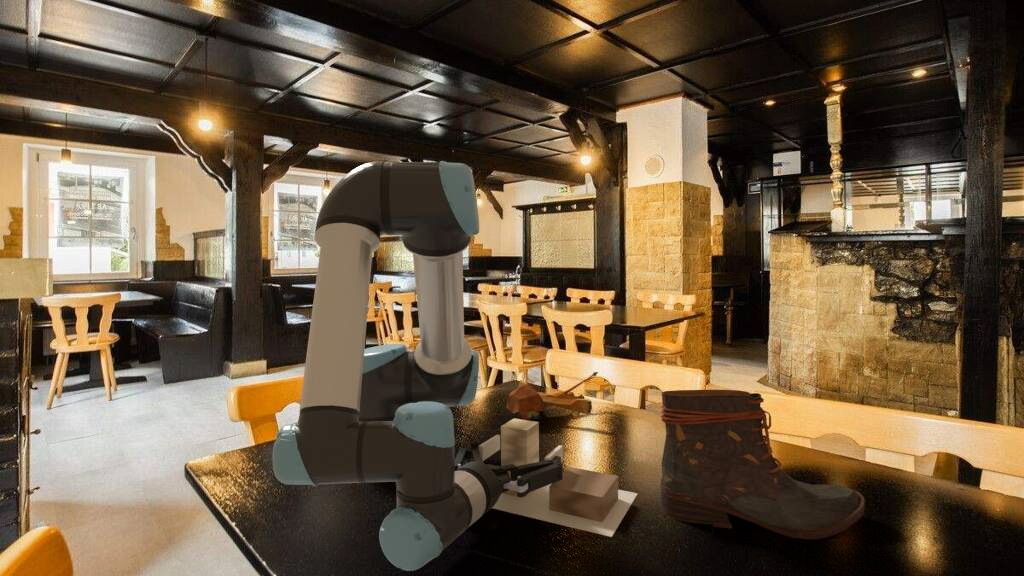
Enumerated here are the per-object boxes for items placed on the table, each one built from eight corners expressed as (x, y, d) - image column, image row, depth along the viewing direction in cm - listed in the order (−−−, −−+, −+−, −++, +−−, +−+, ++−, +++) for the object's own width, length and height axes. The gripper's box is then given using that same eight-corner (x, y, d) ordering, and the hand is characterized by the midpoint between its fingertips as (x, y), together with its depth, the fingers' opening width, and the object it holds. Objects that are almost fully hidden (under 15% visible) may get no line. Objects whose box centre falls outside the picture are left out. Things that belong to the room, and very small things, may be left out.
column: (501, 493, 93) (500, 426, 92) (514, 482, 97) (513, 418, 96) (527, 498, 90) (526, 430, 90) (538, 487, 95) (538, 422, 94)
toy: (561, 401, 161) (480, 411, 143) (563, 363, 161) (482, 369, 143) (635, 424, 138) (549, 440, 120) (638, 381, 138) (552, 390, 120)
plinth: (549, 510, 86) (549, 486, 86) (568, 488, 94) (568, 466, 94) (602, 522, 82) (602, 497, 82) (618, 498, 90) (618, 475, 90)
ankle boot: (884, 544, 76) (889, 409, 75) (665, 531, 80) (667, 402, 79) (845, 507, 88) (849, 389, 86) (655, 497, 92) (656, 384, 91)
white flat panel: (462, 502, 90) (462, 500, 90) (506, 469, 104) (506, 467, 104) (611, 539, 78) (611, 536, 78) (637, 495, 92) (637, 493, 92)
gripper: (401, 502, 83) (472, 456, 102) (541, 539, 72) (592, 479, 91) (400, 455, 83) (472, 418, 102) (541, 485, 72) (592, 437, 91)
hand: (528, 447), depth 97 cm, fingers open, 12 cm apart
